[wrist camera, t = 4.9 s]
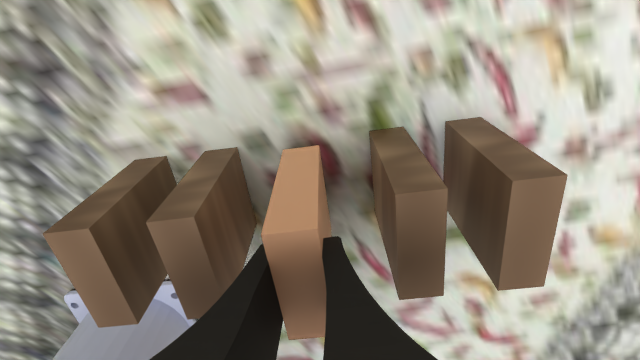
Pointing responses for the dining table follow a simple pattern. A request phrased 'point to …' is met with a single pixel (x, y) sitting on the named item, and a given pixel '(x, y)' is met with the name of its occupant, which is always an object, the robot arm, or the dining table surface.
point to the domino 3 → (299, 241)
